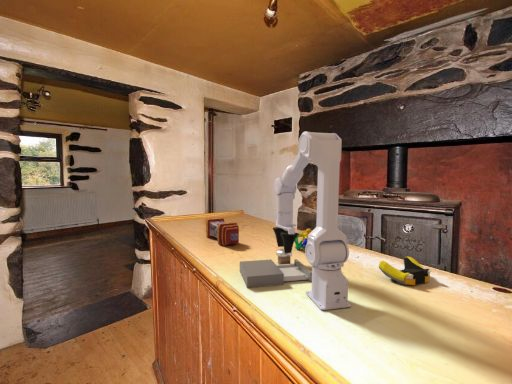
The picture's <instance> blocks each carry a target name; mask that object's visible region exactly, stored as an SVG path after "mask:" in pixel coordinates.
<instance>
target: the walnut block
mask: <svg viewBox="0 0 512 384" xmlns="http://www.w3.org/2000/svg"><path fill="white" fill-rule="evenodd" d="M281 264H291V256H290V257H279V256H277V265H281Z"/></svg>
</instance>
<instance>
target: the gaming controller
mask: <svg viewBox="0 0 512 384" xmlns="http://www.w3.org/2000/svg"><path fill="white" fill-rule="evenodd" d="M403 257H404V256H403ZM403 266H404V268H403V269H401V270H400V269H397V268H396V267H394V266H392V265H390V263H388V262H387V261H385V260H382V261H379V264H378V269H379V270H380V271H381V272H382V274H383V275H384V276H386V277H387V278H390V279H392V280H393V281H396V282H397V283H398V284H399V285H403V286H416V285H421V284H425V283H429V281H430V278H431V272H432V270H431V269H430V268H424V266H422V265H421V264H420V263H419V262H418V261H417V259H415V258H413V257H411V256H405V257H404V258H403Z"/></svg>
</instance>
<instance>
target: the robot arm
mask: <svg viewBox="0 0 512 384" xmlns="http://www.w3.org/2000/svg"><path fill="white" fill-rule="evenodd" d="M299 136H300V137H299V138H298V144H297V145H298V146H297V147H298V153H297V155H296V157H295V159H294V161H293V163H292V164H289V165H288V166H287V167H286V169H285V170H284V171H283V174H282V176H280V177H277V178H276V179H275V181H274V186H273V187H274V192H275V194H276V220H275V226H276V227H272V230H273V232H274V235H275V238H276V245H277V247H278V248H283V249H284V252H285V253H291V251H292V252H293V246H294V244H295V242H294V241H295V239H296V237H297V235H298V234H297V233H298V232H295V231H296V230H295V229H296V227H297V224H296V223H294V221H293V220H294V200H295V199H296V198H295V197H296V195H295V194H296V193H297V185H298V183H299V182H300V181H301V179H302V177H303V176H304V169H305V168H306V167H307V166H308V164H309V163H310V162H313V163H314V164H315V165H316V167H317V184H316V185H317V189H316V193H317V194H316V195H317V196H316V224H315V225H316V226H315V227H314V229H313V230H311V231H312V232H311V233H309V235H308V240H307V245H306V248H304V253H305V258H306V260H307V262H308V263H309V265H311V272H312V281H311V290H306V291H305V294H306V295H307V296H308V297H309V299H311V301H312V302H313V303H314V304H315V305H316V306H317V308H319V310H321V311H327V310H334V309H335V310H336V309H341V308H343V309H344V308H350V307H352V306H351V304H350V303H349V302H348V301H349V298H348V297H349V281H348V278H347V277H346V276H345V275H344V273H343V271H342V268H344V266H345V265H344V264H345V263H346V262H347V261H348V259H349V256H350V251H349V246H348V236H347V235H346V234H345V233H344V232H343V231H341V230H340V229H339V228H338V226H339V225H338V223H339V222H338V221H339V198H340V196H339V195H340V194H339V192H340V191H339V190H340V170H341V169H340V167H341V166H340V164H341V163H340V162H341V161H342V142H343V141H342V138H341V137H340V136H339V135H338V134H337V133H336V132H332V133H330V132H329V133H328V132H313V131H312V132H311V131H303V132H302V133H301V135H299Z"/></svg>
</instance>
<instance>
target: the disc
mask: <svg viewBox="0 0 512 384" xmlns="http://www.w3.org/2000/svg"><path fill="white" fill-rule="evenodd" d="M275 252H276V256H277V257H278V256H279V257H290V258H291V257H292V256H293V250H292V251H291V253H285V252H284V248H278V249H276V251H275Z"/></svg>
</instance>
